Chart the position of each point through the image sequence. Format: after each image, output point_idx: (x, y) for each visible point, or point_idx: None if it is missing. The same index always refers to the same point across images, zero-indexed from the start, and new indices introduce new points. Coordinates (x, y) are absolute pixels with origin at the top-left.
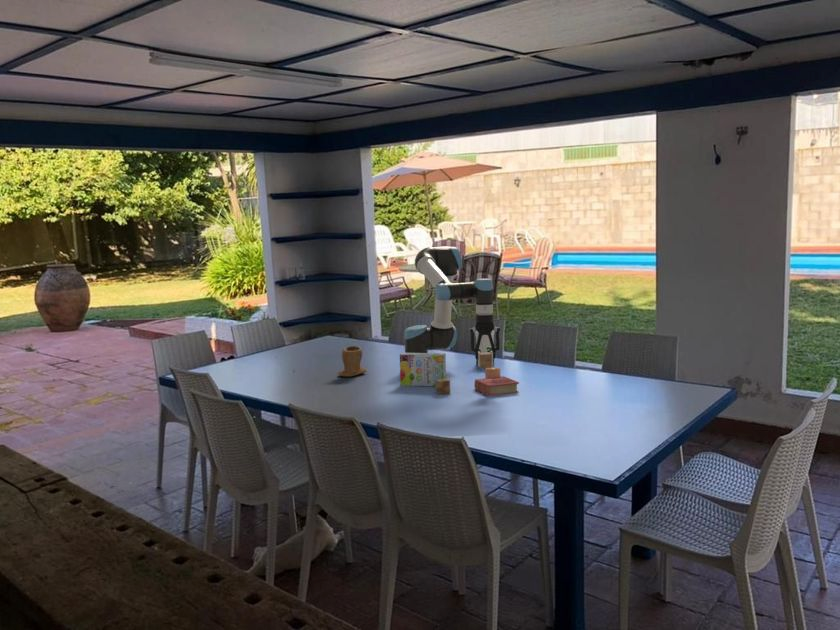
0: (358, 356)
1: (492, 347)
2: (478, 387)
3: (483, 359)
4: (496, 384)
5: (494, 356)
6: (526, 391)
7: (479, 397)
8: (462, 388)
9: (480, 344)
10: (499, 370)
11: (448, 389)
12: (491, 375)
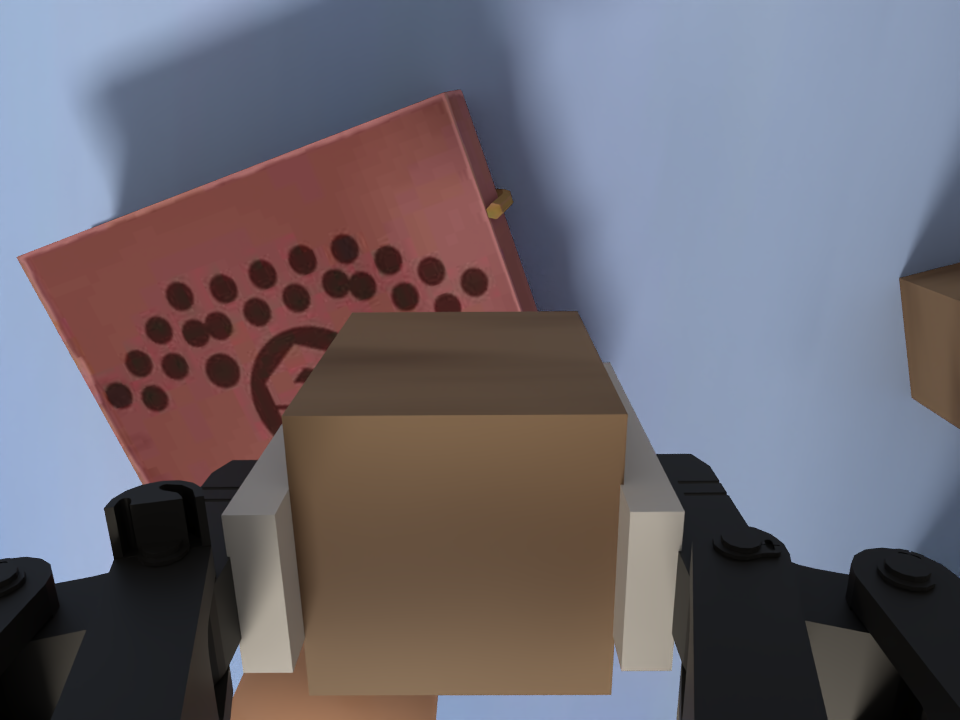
0: None
1: (176, 617)
2: None
3: (523, 364)
4: (336, 154)
5: (226, 484)
6: (3, 270)
7: (587, 33)
8: None
9: None
10: (244, 674)
11: (952, 283)
12: None
